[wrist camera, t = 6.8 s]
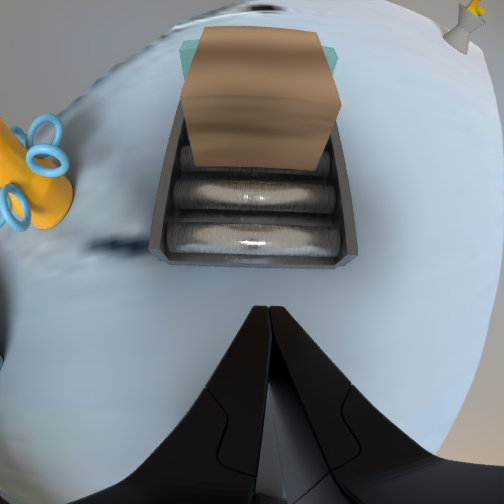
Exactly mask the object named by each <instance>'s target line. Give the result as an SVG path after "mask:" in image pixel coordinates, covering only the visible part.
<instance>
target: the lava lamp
mask: <svg viewBox="0 0 504 504" xmlns="http://www.w3.org/2000/svg"><path fill="white" fill-rule="evenodd" d="M479 1H480V0H472V1H471V3H470V4H469V5H468V6H467V7H464V6H463V5H461V4H459V16H458V25H457V26H456V27H454V28H453V29H452V30H451V31H449V32H448V33H447V34H446V35H444V36H443V38H444V39H445V40H446V41H447V42H448V43H449V44H450V45H451V46H453V47H454V48H455V49H457V50H458V51H460V52H462V53H463V54H467V49H468V43H469V37H470V33H471V32H473V31H474V30H476V29H477V28H479V27H480V26H482V25H483V24H485V21H484V20H482V19H481V18H480V17H479V16H484V15H485V11H484V9H483V8H482V7H480V6H478V5H477V4H478V2H479ZM478 15H479V16H478Z"/></svg>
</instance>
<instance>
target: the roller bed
mask: <svg viewBox="0 0 504 504" xmlns="http://www.w3.org/2000/svg"><path fill="white" fill-rule="evenodd" d="M148 249H149V250H150V251H151V252H152V253H153V254H154V255H155V256H156V257H157V258H158V259H159V261H166V262H167V263H168V264H170V265H197V266H227V267H263V268H309V269H335V268H336V267H337V266H345V265H346V264H347V263H349V262H350V261H351V260H352V259H354V258H355V257H356V256H358V247H357V238H356V230H355V222H354V214H353V207H352V200H351V194H350V188H349V182H348V176H347V171H346V165H345V160H344V155H343V150H342V145H341V141H340V136H339V132H338V127H337V123H336V120H335V123H334V126H333V128H332V131H331V133H330V136H329V138H328V141H327V143H326V146H325V148H324V150H323V153H322V155H321V158H320V160H319V163H318V165H317V168H316V170H315V171H310V170H297V169H282V168H263V167H231V166H195V161H194V157H193V153H192V149H191V144H190V140H189V136H188V131H187V127H186V122H185V118H184V113H183V108H182V104H181V99H180V102H179V105H178V109H177V112H176V116H175V119H174V123H173V127H172V130H171V134H170V138H169V142H168V146H167V150H166V155H165V159H164V163H163V168H162V173H161V177H160V182H159V187H158V192H157V197H156V203H155V209H154V214H153V220H152V227H151V233H150V240H149V247H148Z"/></svg>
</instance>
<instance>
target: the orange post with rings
mask: <svg viewBox="0 0 504 504" xmlns="http://www.w3.org/2000/svg"><path fill="white" fill-rule="evenodd" d="M45 122H52V123H53V124H54V125H55V128H56V134H55V138H54V140H53V142H52V143H51V144H37V145H35V146H34V145H33V137H34V134H35V131H36V130H37V128H38V127H39V126H40V125H41V124H43V123H45ZM14 133H15V134H16V135H17V136H18V137H19V138H20V140H21V142H22V143H21V142H20V140H19V139H18V138H17V137H16V136H15V135H14ZM62 135H63V124H62V121H61V119H60V118H59V117H58V116H57V115H54V114H51V113H48V114H44V115H41V116H40V117H38V118H37V119H36V120H35V121H34V122H33V123H32V124H31V126H30V127H29V129H28V132H27V135H26V134H25V133H24V131H23V130H22V129H21V128H20V127H18V126H12V127H10V129H9V127H8V126H7V125H6V124H5V123H4V121H3V120H2V119H1V118H0V210H1V213H2V215H1V217H0V228H1V227H2V226H3V225H4V224H5V222H7V223H8V225H9V226H10V227H11V228H13V229H14V230H16V231H19V232H23V231H26V230H27V229H28V228H29V226H30V224H32V225H34V226H35V227H37V228H38V229H42V230H44V229H50V228H52V227H54V226H55V225H57V224H58V223H59V222H60V221H61V220H62V219H63V218H64V216H65V215H66V213H67V212H68V210H69V208H70V205H71V202H72V199H73V188H72V184H71V183H70V181H69V180H68V179H67V178H66V177H65V175H64V174H65V173H66V172H67V171H68V169H69V166H70V160H69V157H68V156H67V154H66V153H65V152H64V151H63V150H62V149H60V148H59V147H58V145H59V143H60V141H61V139H62ZM49 155H52V156H54V157H56V158H57V159H58V160H59V161H60V162H61V166H60V167H58V168H57V166H56V165H55V164H54V163H53V162H52V161H51V160H49V159H47V158H45V157H47V156H49ZM11 206H12V209H13V210H14V212H15V213H17V214H18V215H19V216H21V217H22V218H23V222H20V221H18V220H17V219H16V218H15V217H14V216H13V214H12V212H11Z"/></svg>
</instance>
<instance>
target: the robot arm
mask: <svg viewBox="0 0 504 504" xmlns="http://www.w3.org/2000/svg"><path fill="white" fill-rule="evenodd" d="M351 384H352V383H351V381H350V380H349V379H348V378H347V377H346V376H345V375H344V374H343V373H342V372H341V370H340V369H339V368H338V367H337V366H336V365H335V364H334V363H333V362H332V360H331V359H330V358H329V357H328V356H327V355H326V354H325V353H324V352H323V350H322V349H321V348H320V347H319V346H318V345H317V344H316V343H315V342H314V340H313V339H312V338H311V337H310V336H309V335H308V334H307V333H306V331H305V330H304V329H303V328H302V327H301V326H300V325H299V324H298V322H297V321H296V320H295V319H294V318H293V317H292V316H291V315H290V313H289V312H288V311H287V310H286V309H285V308H284V307H283V306H270V307H269V308H268V307H267V306H254V307H253V308H252V309H251V311H250V313H249V314H248V316H247V318H246V320H245V321H244V323H243V325H242V326H241V328H240V330H239V331H238V333H237V335H236V336H235V338H234V340H233V341H232V343H231V345H230V346H229V348H228V350H227V351H226V353H225V355H224V356H223V358H222V359H221V361H220V363H219V364H218V366H217V368H216V369H215V371H214V372H213V374H212V376H211V377H210V379H209V381H208V382H207V384H206V385H205V388H203V390H202V391H201V393H200V395H199V396H198V398H197V399H196V401H195V402H194V404H193V405H192V407H191V408H190V409H189V411H188V412H187V414H186V415H185V416H184V418H183V419H182V420H181V421H180V422H179V424H178V425H177V426H176V427H175V428H174V430H173V431H172V432H171V433H170V434H169V435H168V436H167V437H166V439H165V440H164V441H163V442H162V443H161V444H160V445H159V446H158V447H157V448H156V449H155V450H154V452H153V453H152V454H151V455H150V456H149V457H148V458H147V459H146V460H145V461H144V462H143V463H142V464H141V465H140V466H139V467H138V468H137V469H136V470H135V471H134V472H133V473H132V474H130V475H129V476H128V477H126V478H125V479H124V480H122V481H120V482H119V483H117V484H115V485H113V486H110V487H108V488H106V489H104V490H101V491H99V492H96V493H94V494H91V495H89V496H86V497H84V498H81V499H78V500H76V501H73V502H70V503H67V504H286V503H285V502H283V501H280V500H277V499H274V498H271V497H268V496H266V495H263V494H260V493H257V494H256V493H255V488H256V481H257V479H256V478H257V473H258V466H259V458H260V450H261V442H262V434H263V426H264V417H265V408H266V399H267V390H268V389H269V395H270V402H271V408H272V414H273V420H274V426H275V432H276V438H277V444H278V451H279V457H280V463H281V469H282V475H283V481H284V487H285V493H286V498H287V504H504V466H495V465H483V464H473V463H466V462H459V461H453V460H447V459H444V458H440V457H438V456H436V455H433V454H432V453H430V452H428V451H427V450H425V449H424V448H423V447H421V446H420V445H419V444H418V443H416V442H415V441H414V440H413V439H411V438H410V437H409V436H408V435H407V434H405V433H404V432H403V431H402V430H401V429H399V428H398V427H397V426H396V425H395V424H393V423H392V422H391V421H390V420H389V419H388V418H386V417H385V416H384V415H383V414H382V413H381V412H380V411H379V410H378V409H376V408H375V407H374V406H373V405H372V404H371V403H370V402H369V401H368V400H367V399H366V398H365V396H364V395H363V394H362V393H361V392H360V391H359V390H358V389H357V388H356V387H355V386H354V385H351ZM0 504H26V503H24V502H22V501H20V500H18V499H16V498H14V497H12V496H10V495H8V494H6V493H5V492H3V491H1V490H0Z"/></svg>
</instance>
